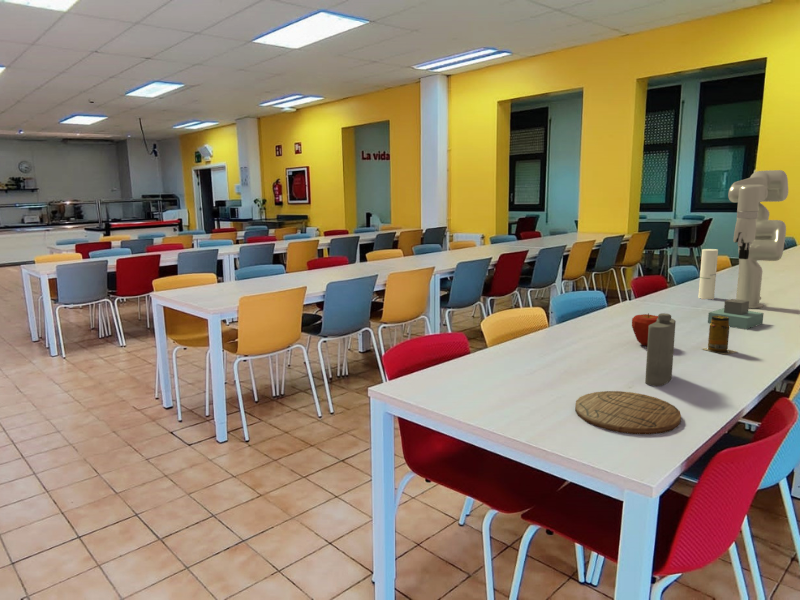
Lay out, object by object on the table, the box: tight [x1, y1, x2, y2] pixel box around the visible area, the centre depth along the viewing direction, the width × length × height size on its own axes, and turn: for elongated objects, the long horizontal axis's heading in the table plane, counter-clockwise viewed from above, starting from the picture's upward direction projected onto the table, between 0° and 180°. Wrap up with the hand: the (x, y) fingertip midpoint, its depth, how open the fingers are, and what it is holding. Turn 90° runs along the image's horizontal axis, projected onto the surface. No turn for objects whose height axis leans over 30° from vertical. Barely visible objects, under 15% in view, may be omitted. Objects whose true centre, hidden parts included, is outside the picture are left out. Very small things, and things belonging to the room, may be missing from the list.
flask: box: [644, 312, 677, 387], centre depth 167 cm, size 15×6×20 cm, turn 144°
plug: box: [723, 298, 750, 315], centre depth 234 cm, size 7×7×9 cm
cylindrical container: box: [698, 248, 719, 300], centre depth 286 cm, size 7×7×25 cm
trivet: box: [574, 390, 682, 436], centre depth 144 cm, size 25×25×2 cm
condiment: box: [702, 316, 738, 355], centre depth 196 cm, size 7×8×12 cm
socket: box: [707, 307, 764, 330], centre depth 235 cm, size 15×15×4 cm
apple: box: [631, 313, 658, 346], centre depth 205 cm, size 11×11×12 cm
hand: (743, 258), depth 240 cm, fingers closed
